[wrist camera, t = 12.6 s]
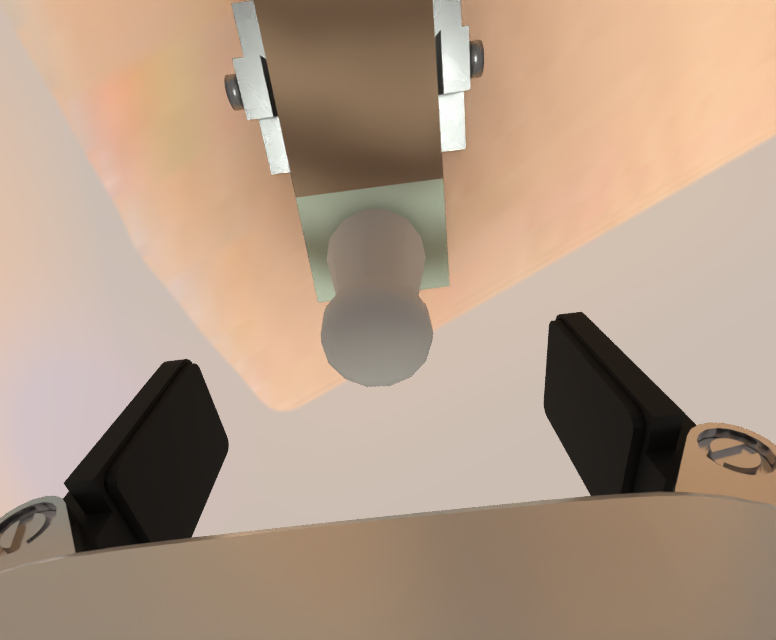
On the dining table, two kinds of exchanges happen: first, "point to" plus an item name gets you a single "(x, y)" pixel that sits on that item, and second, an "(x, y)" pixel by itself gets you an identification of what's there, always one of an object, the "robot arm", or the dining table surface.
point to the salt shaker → (376, 300)
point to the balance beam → (359, 118)
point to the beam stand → (453, 77)
